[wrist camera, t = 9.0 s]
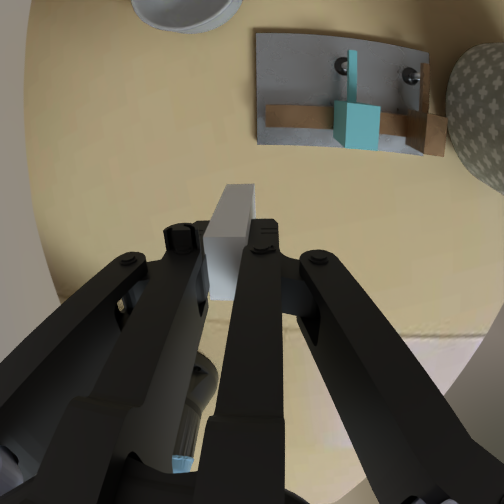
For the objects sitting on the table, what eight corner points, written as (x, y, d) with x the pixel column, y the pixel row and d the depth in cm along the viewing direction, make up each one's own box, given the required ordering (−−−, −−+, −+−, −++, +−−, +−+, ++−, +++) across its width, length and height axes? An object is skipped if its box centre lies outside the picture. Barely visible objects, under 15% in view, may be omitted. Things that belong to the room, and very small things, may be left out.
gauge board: (257, 142, 35) (253, 158, 28) (256, 35, 29) (251, 19, 21) (419, 153, 34) (451, 172, 26) (424, 53, 28) (460, 49, 20)
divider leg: (329, 134, 32) (345, 148, 25) (331, 52, 28) (347, 42, 21) (355, 136, 32) (377, 150, 25) (358, 55, 28) (381, 47, 21)
